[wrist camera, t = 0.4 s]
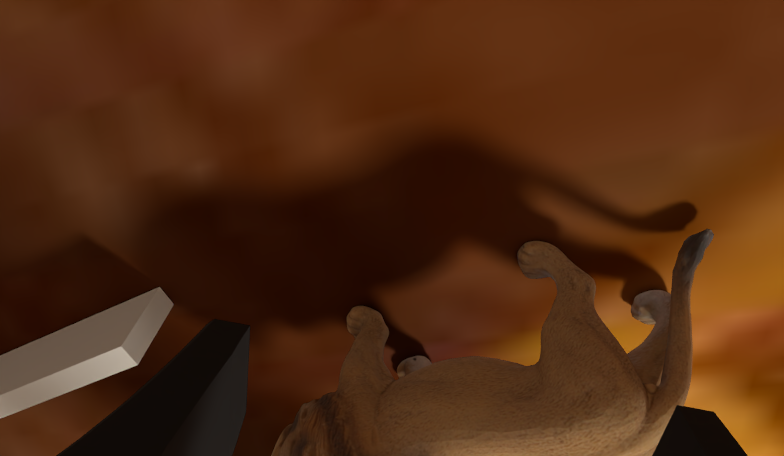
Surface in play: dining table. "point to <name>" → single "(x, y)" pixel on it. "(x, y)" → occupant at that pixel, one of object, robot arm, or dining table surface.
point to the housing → (81, 352)
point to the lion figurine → (515, 382)
